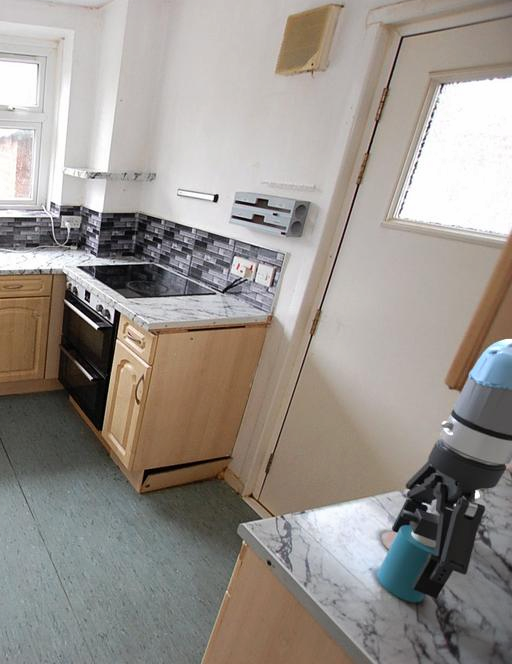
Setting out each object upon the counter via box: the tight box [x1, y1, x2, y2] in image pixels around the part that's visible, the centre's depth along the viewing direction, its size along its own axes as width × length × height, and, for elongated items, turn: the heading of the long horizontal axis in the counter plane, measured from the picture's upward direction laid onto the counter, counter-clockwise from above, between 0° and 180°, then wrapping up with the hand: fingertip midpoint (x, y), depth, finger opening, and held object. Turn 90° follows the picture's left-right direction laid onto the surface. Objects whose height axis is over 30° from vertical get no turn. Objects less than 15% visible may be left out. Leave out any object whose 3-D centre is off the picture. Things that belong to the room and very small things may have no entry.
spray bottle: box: [376, 509, 439, 603], centre depth 73 cm, size 7×6×14 cm
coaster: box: [381, 531, 397, 551], centre depth 83 cm, size 9×9×1 cm
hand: (411, 560), depth 74 cm, fingers open, 13 cm apart
